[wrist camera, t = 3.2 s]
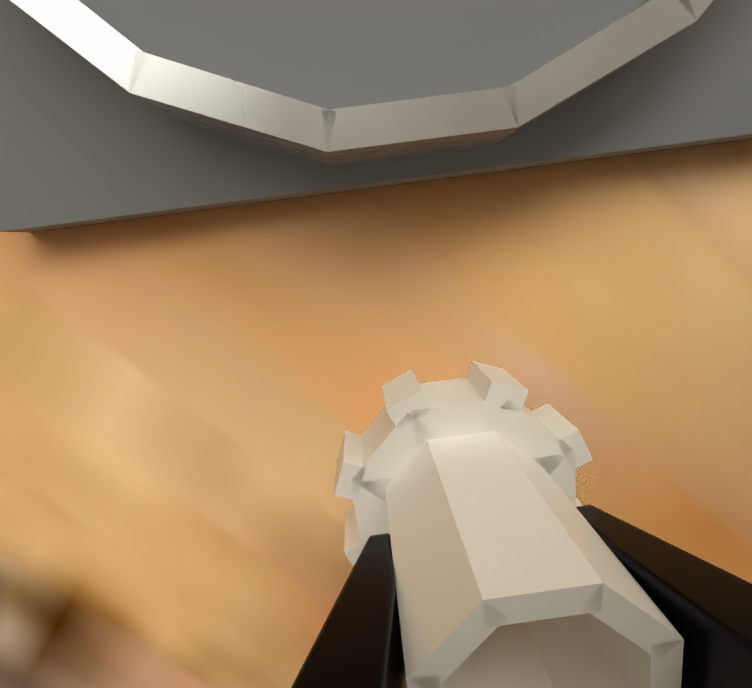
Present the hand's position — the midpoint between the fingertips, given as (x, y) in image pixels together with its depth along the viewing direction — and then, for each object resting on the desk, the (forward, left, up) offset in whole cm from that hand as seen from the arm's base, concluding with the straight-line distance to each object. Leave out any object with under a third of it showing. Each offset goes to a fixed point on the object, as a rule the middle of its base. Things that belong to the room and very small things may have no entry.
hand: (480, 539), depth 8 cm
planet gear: (0, 0, -2) cm, 2 cm away
